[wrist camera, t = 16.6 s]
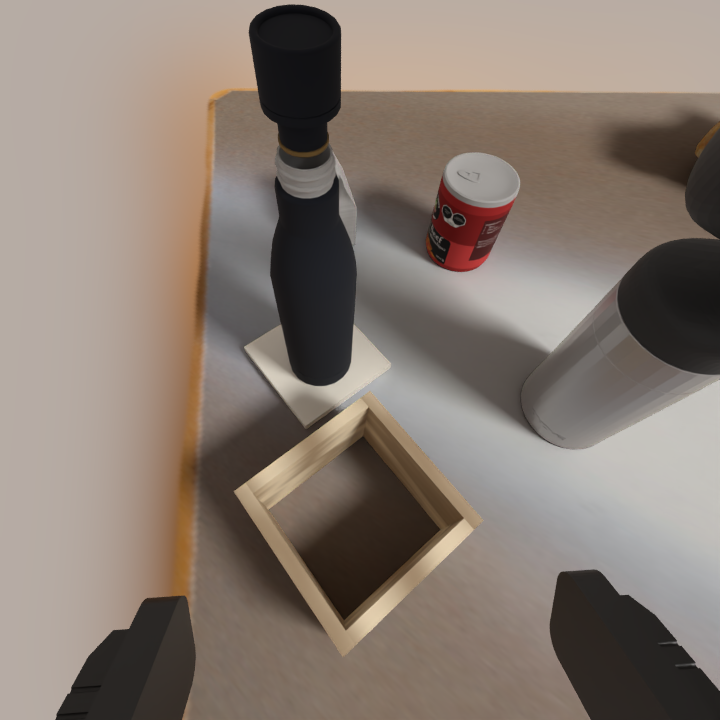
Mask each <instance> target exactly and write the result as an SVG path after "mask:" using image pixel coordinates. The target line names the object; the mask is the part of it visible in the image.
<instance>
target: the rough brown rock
mask: <svg viewBox="0 0 720 720" xmlns="http://www.w3.org/2000/svg"><path fill="white" fill-rule="evenodd" d="M719 128H720V121H719V122H718V123H717V124H716V125H715V126H714V127H713V128H712V129H711V130H710V131H709V132H708V133H707V134H706V135H705V136H704V137H703V139H702V140H701V141H700V142H699V143H698V144H697V147H696V151H695V155H696V156H697V157H698V158H699V156H700V154H701V153H702V151H703V149H704V148H705V146H706V145H707V144H708V142H709V141H710V139H711V138H712V137H713V135H714V134H715V133H716V132H717V130H718V129H719Z"/></svg>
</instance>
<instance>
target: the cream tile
mask: <svg viewBox="0 0 720 720" xmlns="http://www.w3.org/2000/svg"><path fill="white" fill-rule="evenodd" d="M244 349H245V351H246V353H247V354H248V355H249V357H250V358H251V359H252V361H253V362H254V363H255V364H256V366H257V367H258V368H259V370H260V371H261V372H262V373H263V375H264V376H265V377H266V379H267V380H268V381H269V382H270V384H271V385H272V386H273V388H274V389H275V390H276V392H277V393H278V394H279V395H280V397H281V398H282V399H283V401H284V402H285V403H286V404H287V406H288V407H289V408H290V410H291V411H292V412H293V413H294V415H295V416H296V417H297V419H298V420H299V421H300V422H301V424H302V425H303V426H304V428H305V429H307V428H309V427H310V426H311V425H313V424H314V423H316V422H317V421H318V420H320V419H321V418H322V417H324V416H325V415H327V414H328V413H329V412H331V411H332V410H333V409H335V408H336V407H338V406H339V405H340V404H342V403H343V402H344V401H346V400H347V399H349V398H350V397H351V396H353V395H354V394H355V393H357V392H358V391H359V390H361V389H362V388H364V387H365V386H366V385H368V384H369V383H370V382H372V381H373V380H375V379H376V378H377V377H379V376H380V375H381V374H383V373H384V372H386V371H387V370H388V369H390V367H391V363H390V362H389V361H388V360H387V359H386V358H385V357H384V356H383V354H382V353H381V352H380V351H379V350H378V349H377V348H376V347H375V346H374V345H373V344H372V343H371V342H370V340H369V339H368V338H367V337H366V336H365V335H364V334H363V333H362V332H361V331H360V330H359V329H358V327H357V326H356V325H355V324H354V325H353V341H352V357H351V364H350V367H349V370H348V372H347V373H346V374H345V375H344V377H343V378H342V379H340V380H339V381H337V382H336V383H333V384H330V385H327V386H313V385H309V384H306V383H304V382H303V381H301V380H300V379H298V378H297V376H296V375H295V374H294V372H293V371H292V368H291V365H290V362H289V357H288V353H287V348H286V344H285V339H284V335H283V330H282V326H281V324H280V325H279V326H277V327H275V328H274V329H272V330H270V331H269V332H267V333H266V334H264V335H262V336H261V337H259V338H257V339H256V340H254V341H253V342H251V343H249V344H248V345H246V346H244Z"/></svg>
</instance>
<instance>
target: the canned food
mask: <svg viewBox="0 0 720 720" xmlns="http://www.w3.org/2000/svg"><path fill="white" fill-rule="evenodd" d="M519 188H520V179H519V176H518V174H517V172H516V171H515V170H514V168H513V167H512V166H511V165H509V164H508V163H507V162H505V161H504V160H502V159H500V158H498V157H496V156H493V155H490V154H485V153H476V152H473V153H464V154H460V155H458V156H455V157H454V158H452V159H451V160H450V161H449V162H448V163H447V165H446V167H445V170H444V172H443V176H442V179H441V182H440V186H439V190H438V194H437V198H436V202H435V206H434V210H433V214H432V218H431V222H430V226H429V229H428V233H427V238H426V246H427V251H428V254H429V255H430V257H431V258H432V259H433V261H434V262H436V263H437V264H438V265H440V266H441V267H443V268H446V269H448V270H452V271H458V272H465V271H470V270H473V269H476V268H477V267H479V266H480V265H481V264H482V263H483V262H484V261H485V260H486V259H487V258H488V255H489V253H490V251H491V249H492V247H493V245H494V243H495V241H496V239H497V237H498V234H499V232H500V230H501V228H502V226H503V224H504V222H505V220H506V218H507V215H508V213H509V211H510V209H511V207H512V205H513V203H514V200H515V198H516V196H517V194H518V190H519Z"/></svg>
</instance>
